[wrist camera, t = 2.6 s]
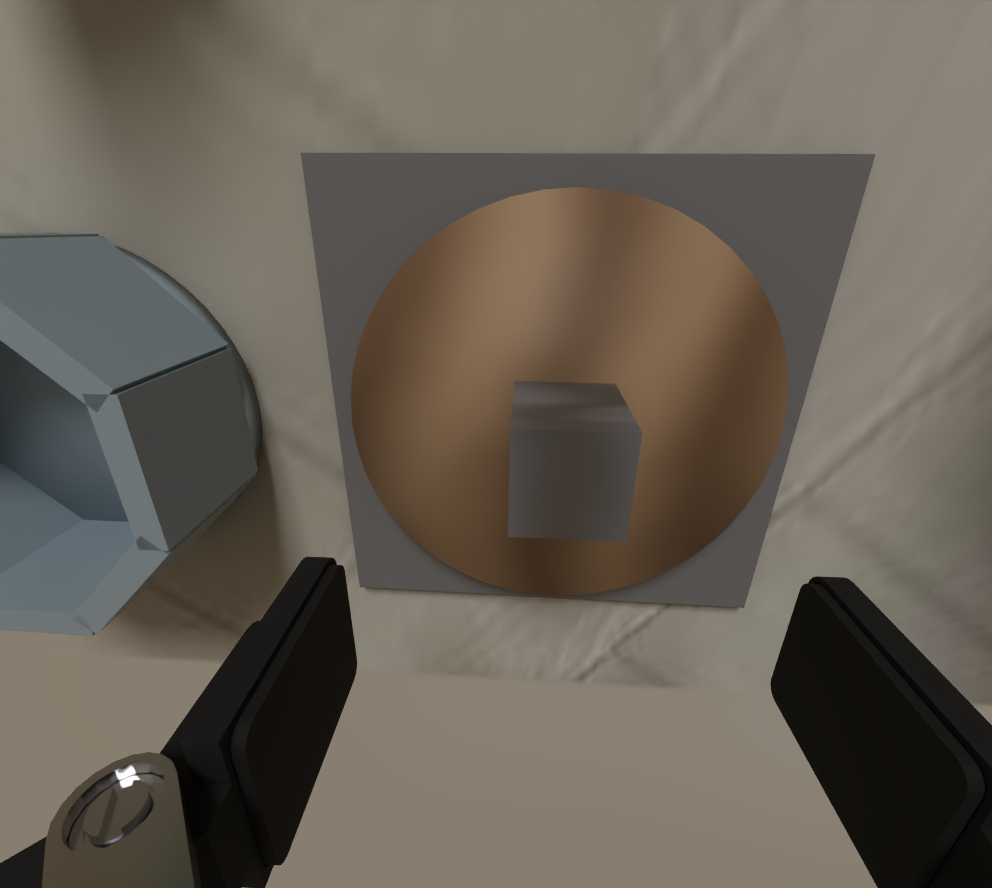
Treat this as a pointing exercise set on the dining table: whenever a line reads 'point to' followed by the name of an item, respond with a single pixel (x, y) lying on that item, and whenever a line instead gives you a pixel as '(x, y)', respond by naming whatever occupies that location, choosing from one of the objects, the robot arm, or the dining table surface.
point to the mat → (660, 177)
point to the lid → (569, 391)
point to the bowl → (108, 428)
